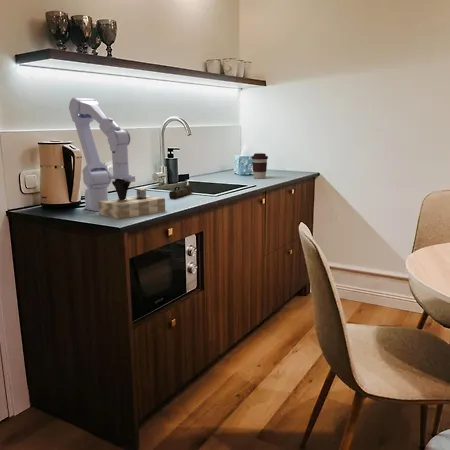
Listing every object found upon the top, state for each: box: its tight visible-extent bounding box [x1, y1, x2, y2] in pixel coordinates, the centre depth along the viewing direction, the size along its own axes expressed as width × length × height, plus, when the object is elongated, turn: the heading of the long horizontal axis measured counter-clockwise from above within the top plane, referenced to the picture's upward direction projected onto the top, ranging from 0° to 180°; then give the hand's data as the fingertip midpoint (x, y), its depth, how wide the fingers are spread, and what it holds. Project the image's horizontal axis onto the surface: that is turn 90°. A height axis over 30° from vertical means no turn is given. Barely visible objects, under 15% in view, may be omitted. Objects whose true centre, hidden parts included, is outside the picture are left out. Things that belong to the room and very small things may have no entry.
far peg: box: [135, 188, 147, 200], centre depth 184 cm, size 4×4×4 cm
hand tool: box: [168, 184, 193, 200], centre depth 221 cm, size 19×4×5 cm, turn 155°
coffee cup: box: [251, 152, 269, 180], centre depth 286 cm, size 10×10×15 cm
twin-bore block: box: [98, 194, 166, 220], centre depth 181 cm, size 14×21×5 cm, turn 138°
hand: (122, 199), depth 177 cm, fingers closed, pressing on near peg
